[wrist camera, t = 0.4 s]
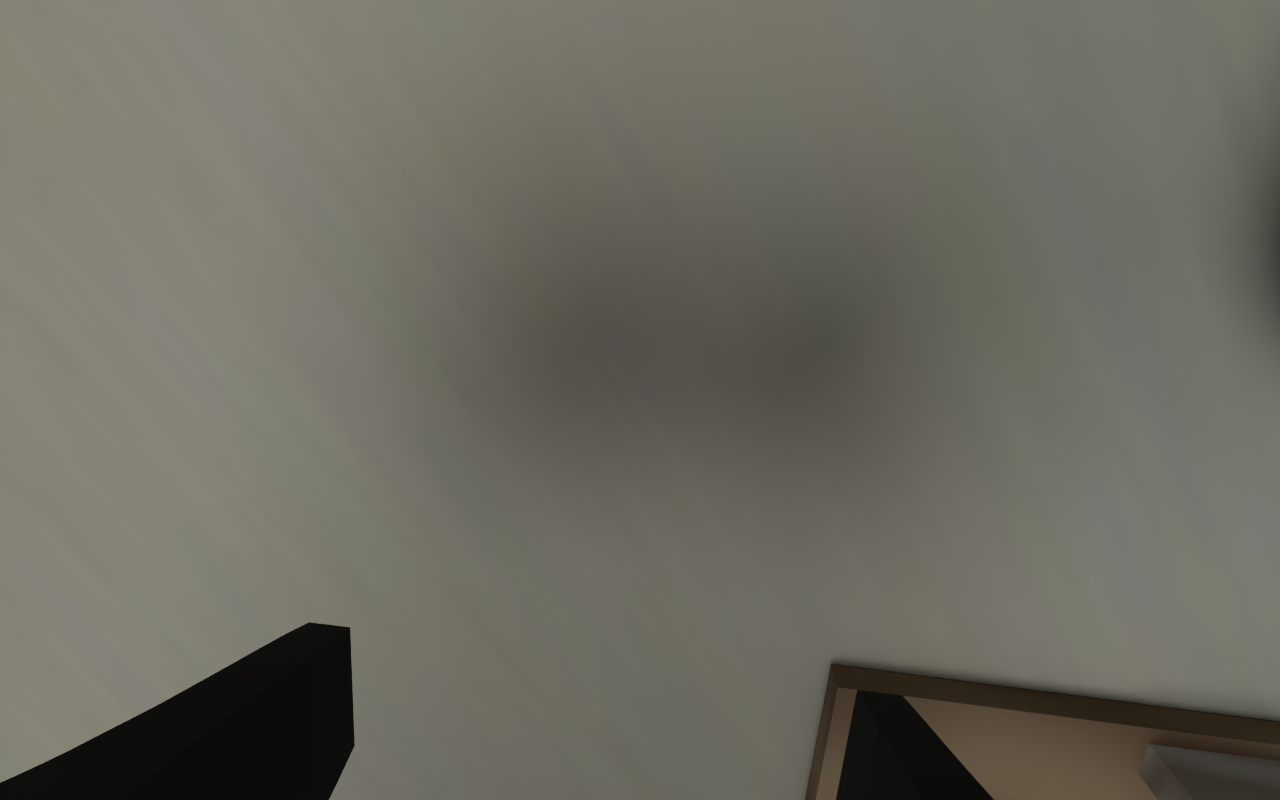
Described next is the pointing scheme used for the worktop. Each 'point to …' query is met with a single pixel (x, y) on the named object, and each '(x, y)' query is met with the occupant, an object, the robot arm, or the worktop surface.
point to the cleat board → (1063, 742)
